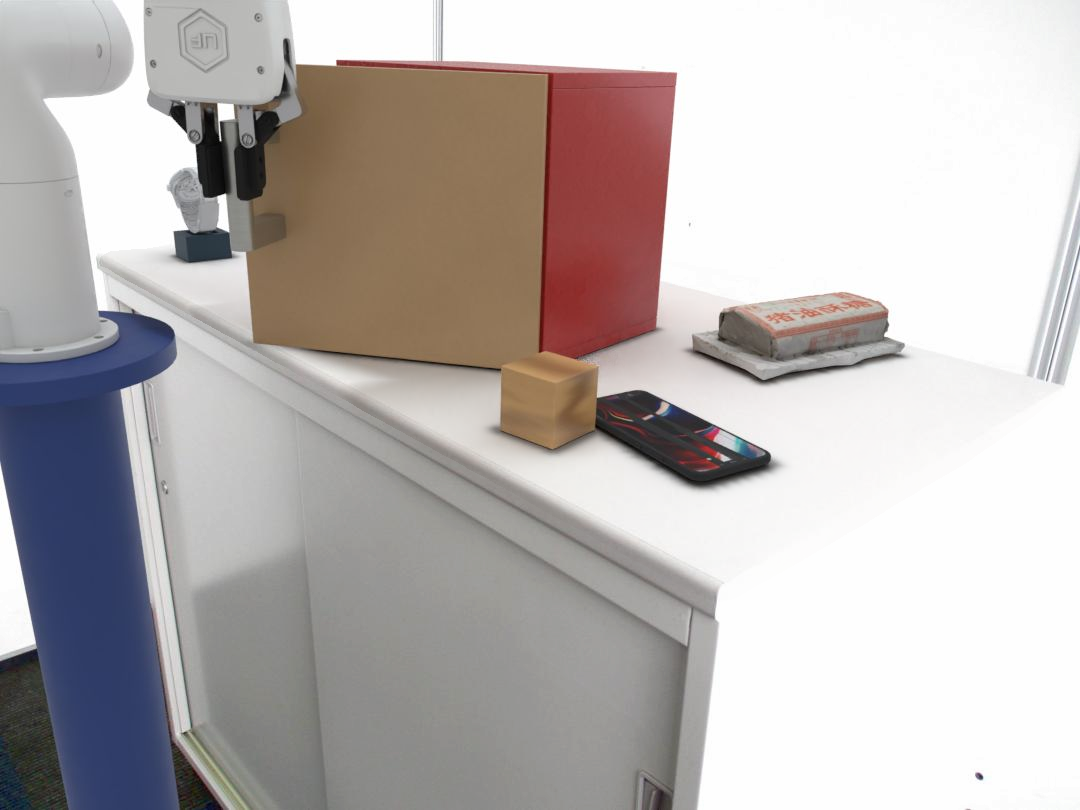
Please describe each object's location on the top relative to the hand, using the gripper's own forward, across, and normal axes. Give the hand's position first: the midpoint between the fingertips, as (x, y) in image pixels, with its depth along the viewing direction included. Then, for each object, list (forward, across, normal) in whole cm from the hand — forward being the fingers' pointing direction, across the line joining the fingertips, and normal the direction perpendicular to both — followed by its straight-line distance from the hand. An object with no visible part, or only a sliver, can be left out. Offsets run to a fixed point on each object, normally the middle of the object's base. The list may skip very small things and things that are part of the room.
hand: (233, 194), depth 73 cm
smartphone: (+14, +35, -6) cm, 39 cm away
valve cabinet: (+14, +18, +21) cm, 31 cm away
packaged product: (+14, +47, +17) cm, 52 cm away
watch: (+15, -24, +38) cm, 48 cm away
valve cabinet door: (+14, +11, +3) cm, 18 cm away
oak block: (+14, +27, -7) cm, 31 cm away
